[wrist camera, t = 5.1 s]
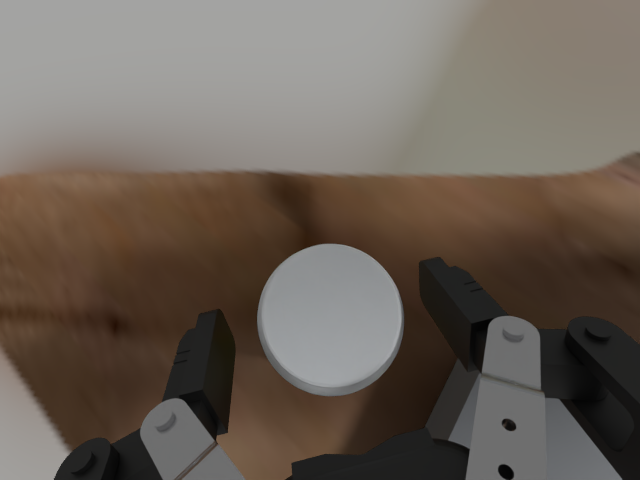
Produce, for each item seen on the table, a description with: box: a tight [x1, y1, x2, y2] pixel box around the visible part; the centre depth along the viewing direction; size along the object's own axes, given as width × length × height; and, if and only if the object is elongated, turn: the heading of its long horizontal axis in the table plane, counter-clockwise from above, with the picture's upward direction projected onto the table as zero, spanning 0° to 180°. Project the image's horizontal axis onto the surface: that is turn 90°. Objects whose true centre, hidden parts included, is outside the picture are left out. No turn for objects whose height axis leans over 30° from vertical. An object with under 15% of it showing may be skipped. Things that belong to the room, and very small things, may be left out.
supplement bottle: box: [257, 244, 404, 396], centre depth 14 cm, size 5×5×10 cm
